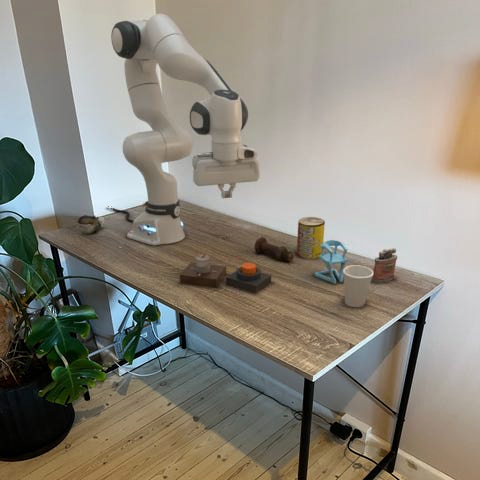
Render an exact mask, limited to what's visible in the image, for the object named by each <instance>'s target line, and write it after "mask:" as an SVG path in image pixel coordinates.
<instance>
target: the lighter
mask: <svg viewBox="0 0 480 480" xmlns="http://www.w3.org/2000/svg"><path fill="white" fill-rule="evenodd" d="M396 253H397V249H396V248H395V247H393V248H389V249H386V248H385V249H383V250H382V251H379V252H378V256H377V257H375V258H374V266H373V272H374V274H373V276H372V279H371V283H374V284H381V283H386V282H387V283H388V282H390V281H391V280H395V271H396V264H397V260H398V255H397V254H396Z"/></svg>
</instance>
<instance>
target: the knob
mask: <svg viewBox="0 0 480 480" xmlns="http://www.w3.org/2000/svg"><path fill="white" fill-rule="evenodd" d="M195 263H196V271H197V272H199V273H207V272H209V271H210V265H211V256H209V255H208V254H207V253H203V254H198V255H196V256H195Z"/></svg>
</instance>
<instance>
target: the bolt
mask: <svg viewBox="0 0 480 480" xmlns="http://www.w3.org/2000/svg"><path fill="white" fill-rule="evenodd" d="M254 250H255V252H256V253H257V254H262V253H266V254H270V255H272V256H275V259H276V260H277V261H280V262H282V261H287V262H292V261H293V259H294V258H295V254H294V252H292V251H289V250H288V248H287V247H286V246H276V245H274V244H272V243H269V242H268V240H267V238H266V237H263V236H262V237H259V238H258V239H257V240H256V241H255V242H254Z"/></svg>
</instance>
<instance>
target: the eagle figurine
mask: <svg viewBox="0 0 480 480" xmlns="http://www.w3.org/2000/svg"><path fill="white" fill-rule="evenodd" d="M105 220H106V219H105V218H104V217H103V216H96V215H95V214H94V215H92V216H91V215H87V214H84V215H81V216H80V217H79V218H78V219H77V223H78V225H90V226H89V227H88V228H87V229H86V230H84V231H83V235H92V234H93V233H95V232H96V230H98V229H102V228H103V227H102V225H104V224H105Z"/></svg>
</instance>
